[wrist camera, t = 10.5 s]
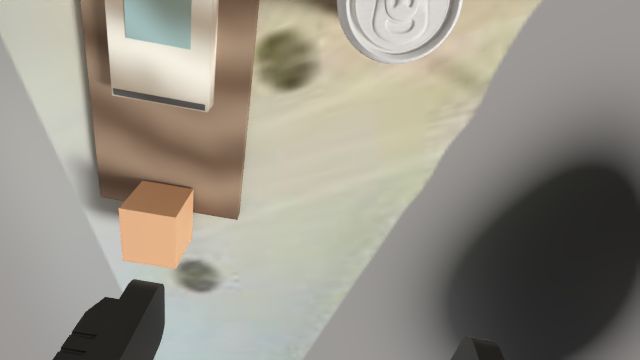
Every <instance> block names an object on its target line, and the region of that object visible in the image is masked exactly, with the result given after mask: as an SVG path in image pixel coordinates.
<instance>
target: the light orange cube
mask: <svg viewBox="0 0 640 360" xmlns="http://www.w3.org/2000/svg"><path fill="white" fill-rule="evenodd" d="M193 191H194V189H190V188H184V187H178V186H172V185H166V184H160V183H154V182H149V181H142V182H141V183H140V184H139V185H138V187H137V188H136V189H135V190H134V191H133V192H132V193H131V195H130V196H129V197H128V198H127V199H126V200H125V201H124V203H123V204H122V205H121V206H120V207H119V219H120V232H121V244H122V256H123V261H129V262H136V263H142V264H148V265H154V266H160V267H167V268H173V269H176V267H177V265H178V264H179V262H180V260H181V258H182V256H183V254H184V252H185V250H186V248H187V246H188V244H189V242H190V241H191V239H192V230H193Z"/></svg>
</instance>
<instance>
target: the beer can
mask: <svg viewBox="0 0 640 360" xmlns="http://www.w3.org/2000/svg"><path fill="white" fill-rule="evenodd" d="M462 2H463V0H337V11H338V17H339V21H340V24H341V27H342V29H343V31H344V33H345V35H346V37H347V38H348V40H349V41H350V42H351V44H352V45H353V46H354V47H355V48H356V49H357V50H358V51H359V52H361V53H362V54H363V55H365V56H367V57H368V58H370V59H373V60H375V61H378V62H382V63H387V64H402V63H408V62H411V61H415V60H417V59H420V58H422V57H424V56H426V55H427V54H429V53H430V52H432V51H433V50H435V49H436V48H437V47H438V46H439V45H440V44H441V43H442V42H443V41H444V40H445V39H446V38H447V36H448V35H449V34H450V32H451V31H452V29H453V27H454V25H455V23H456V21H457V19H458V17H459V14H460V11H461V7H462Z"/></svg>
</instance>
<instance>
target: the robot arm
mask: <svg viewBox="0 0 640 360" xmlns="http://www.w3.org/2000/svg"><path fill="white" fill-rule="evenodd" d="M164 324H165V300H164V285H163V284H159V283H153V282H147V281H141V280H135V279H134V280H132V281H131V282H130V283H129V284H128V286H127V287H126V289H125V291H124V292H123V294H122V295H121V297H120V299H114V298H108V297H105V298H104V299H102V300H101V301H100V302H99V303H97V304H96V305H94V306H93V307H92V308H90V309H89V310H88V311H86V312H85V314H84V315H83V317H82V318H81V319H80V321H79V322H78V324H77V325H76V327H75V328H74V330H73V331H72V334H71V335H69V337H68V338H67V340H66V341H65V343H64V344H63V346H62V347H61V350H60V352H58V353H57V354H56V356H55V357H54V359H53V360H153V358H154V356H155V354H156V352H157V350H158V347H159V345H160V342H161V339H162V335H163V331H164ZM451 360H504V357H503V355H502V353H501V350H500V347H499V346H498V344H497V343H496V342H494V341H491V340H485V339H478V338H473V337H464V338H463V339H462V341H461V343H460V345H459V346H458V348H457V350H456V352H455V354H454V355H453V357H452V359H451Z"/></svg>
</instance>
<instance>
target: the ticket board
mask: <svg viewBox="0 0 640 360" xmlns="http://www.w3.org/2000/svg"><path fill="white" fill-rule="evenodd" d="M80 4H81V13H82V23H83V32H84V42H85V51H86V61H87V70H88V80H89V89H90V99H91V108H92V118H93V127H94V137H95V146H96V156H97V165H98V175H99V184H100V194H101V197H104V198H110V199H116V200H122V201H125V200H126V199H127V198H128V197H129V196H130V195H131V193H132V192H133V191H134V190H135V189H136V188H137V187H138V185H139V184H140V183H141V182H142V181H149V182H154V183H160V184H166V185H172V186H178V187H184V188H190V189H194V191H193V212H194V213H200V214H206V215H212V216H218V217H224V218H230V219H236V220H237V219H238V216H239V212H240V201H241V190H242V180H243V169H244V158H245V148H246V137H247V126H248V116H249V105H250V94H251V83H252V73H253V62H254V51H255V41H256V30H257V19H258V8H259V0H80Z"/></svg>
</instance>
